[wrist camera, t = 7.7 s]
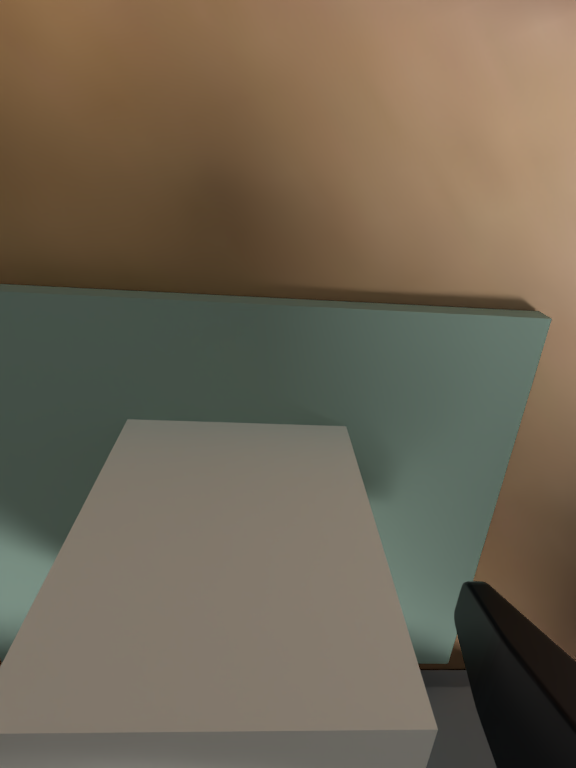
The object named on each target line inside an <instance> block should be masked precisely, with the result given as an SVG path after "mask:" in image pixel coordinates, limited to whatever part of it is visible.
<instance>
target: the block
mask: <svg viewBox="0 0 576 768" xmlns="http://www.w3.org/2000/svg"><path fill="white" fill-rule="evenodd" d="M437 731H438V728H437V725H436V721H435V718H434V715H433V711H432V708H431V705H430V701H429V698H428V695H427V692H426V688H425V685H424V682H423V678H422V675H421V672H420V668H419V665H418V662H417V659H416V655H415V652H414V649H413V645H412V642H411V639H410V635H409V632H408V629H407V625H406V622H405V619H404V616H403V612H402V609H401V606H400V602H399V599H398V596H397V592H396V589H395V586H394V582H393V579H392V576H391V573H390V569H389V566H388V563H387V559H386V556H385V553H384V549H383V546H382V543H381V540H380V536H379V533H378V530H377V526H376V523H375V520H374V516H373V513H372V510H371V506H370V503H369V500H368V497H367V493H366V490H365V487H364V483H363V480H362V477H361V473H360V470H359V467H358V464H357V460H356V457H355V454H354V450H353V447H352V444H351V440H350V437H349V434H348V430H347V427H346V426H324V425H293V424H261V423H230V422H199V421H168V420H136V419H127V421H126V423H125V425H124V427H123V429H122V431H121V433H120V435H119V437H118V439H117V441H116V443H115V445H114V446H113V448H112V450H111V452H110V454H109V456H108V458H107V460H106V462H105V464H104V466H103V468H102V470H101V472H100V474H99V476H98V478H97V479H96V481H95V483H94V485H93V487H92V489H91V491H90V493H89V495H88V497H87V499H86V501H85V503H84V505H83V507H82V509H81V511H80V513H79V514H78V516H77V518H76V520H75V522H74V524H73V526H72V528H71V530H70V532H69V534H68V536H67V538H66V540H65V542H64V544H63V546H62V548H61V549H60V551H59V553H58V555H57V557H56V559H55V561H54V563H53V565H52V567H51V569H50V571H49V573H48V575H47V577H46V579H45V581H44V583H43V584H42V586H41V588H40V590H39V592H38V594H37V596H36V598H35V600H34V602H33V604H32V606H31V608H30V610H29V612H28V614H27V616H26V618H25V619H24V621H23V623H22V625H21V627H20V629H19V631H18V633H17V635H16V637H15V639H14V641H13V643H12V645H11V647H10V649H9V651H8V653H7V654H6V656H5V658H4V660H3V662H2V664H1V666H0V768H426V766H427V763H428V760H429V757H430V753H431V750H432V747H433V744H434V741H435V737H436V734H437Z"/></svg>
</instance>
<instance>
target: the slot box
mask: <svg viewBox="0 0 576 768" xmlns="http://www.w3.org/2000/svg"><path fill="white" fill-rule="evenodd" d="M420 672H421V675H422V678H423V682H424V685H425V688H426V692H427V695H428V698H429V701H430V705H431V708H432V711H433V715H434V718H435V721H436V725H437V728H438V731H437V734H436V737H435V741H434V744H433V747H432V750H431V753H430V757H429V760H428V763H427V766H426V768H497V767H496V764H495V761H494V759H493V756H492V753H491V750H490V747H489V744H488V742H487V739H486V736H485V733H484V730H483V727H482V725H481V722H480V719H479V716H478V713H477V710H476V706H475V703H474V699H473V695H472V692H471V687H470V683H469V679H468V675H467V671H466V670H420Z"/></svg>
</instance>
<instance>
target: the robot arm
mask: <svg viewBox="0 0 576 768" xmlns="http://www.w3.org/2000/svg"><path fill="white" fill-rule="evenodd" d="M454 622H455V627H456V631H457V635H458V639H459V643H460V647H461V651H462V655H463V659H464V663H465V667H466V671H467V675H468V679H469V683H470V687H471V692H472V695H473V699H474V703H475V706H476V710H477V713H478V716H479V719H480V722H481V725H482V727H483V730H484V733H485V736H486V739H487V742H488V744H489V747H490V750H491V753H492V756H493V759H494V761H495V764H496V767H497V768H576V661H575V660H573V659H572V658H571V657H570V656H569V655H568V654H567V653H565V652H564V651H563V650H562V649H561V648H560V647H559V646H558V645H556V644H555V643H554V642H553V641H552V640H551V639H550V638H549V637H547V636H546V635H545V634H544V633H543V632H542V631H541V630H540V629H538V628H537V627H536V626H535V625H534V624H533V623H532V622H531V621H529V620H528V619H527V618H526V617H525V616H524V615H523V614H521V613H520V612H519V611H518V610H517V609H516V608H515V607H514V606H512V605H511V604H510V603H509V602H508V601H507V600H506V599H505V598H503V597H502V596H501V595H500V594H499V593H498V592H497V591H496V590H494V589H493V588H492V587H491V586H490V585H489V584H487V583H485V582H480V581H467V582H464V583H463V584H462V587H461V590H460V593H459V597H458V600H457V603H456V607H455V611H454Z"/></svg>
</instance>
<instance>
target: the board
mask: <svg viewBox="0 0 576 768" xmlns="http://www.w3.org/2000/svg"><path fill="white" fill-rule="evenodd" d="M551 320H552V319H551V318H550V317H548V316H546V315H544V314H543V313H541V312H539V311H524V310H505V309H485V308H465V307H445V306H426V305H406V304H386V303H366V302H347V301H327V300H307V299H287V298H268V297H248V296H228V295H208V294H189V293H169V292H149V291H129V290H110V289H90V288H70V287H50V286H31V285H11V284H0V659H1V662H3V660H4V658H5V656H6V654H7V653H8V651H9V649H10V647H11V645H12V643H13V641H14V639H15V637H16V635H17V633H18V631H19V629H20V627H21V625H22V623H23V621H24V619H25V618H26V616H27V614H28V612H29V610H30V608H31V606H32V604H33V602H34V600H35V598H36V596H37V594H38V592H39V590H40V588H41V586H42V584H43V583H44V581H45V579H46V577H47V575H48V573H49V571H50V569H51V567H52V565H53V563H54V561H55V559H56V557H57V555H58V553H59V551H60V549H61V548H62V546H63V544H64V542H65V540H66V538H67V536H68V534H69V532H70V530H71V528H72V526H73V524H74V522H75V520H76V518H77V516H78V514H79V513H80V511H81V509H82V507H83V505H84V503H85V501H86V499H87V497H88V495H89V493H90V491H91V489H92V487H93V485H94V483H95V481H96V479H97V478H98V476H99V474H100V472H101V470H102V468H103V466H104V464H105V462H106V460H107V458H108V456H109V454H110V452H111V450H112V448H113V446H114V445H115V443H116V441H117V439H118V437H119V435H120V433H121V431H122V429H123V427H124V425H125V423H126V421H127V419H136V420H168V421H199V422H230V423H261V424H293V425H324V426H346V427H347V430H348V434H349V437H350V440H351V444H352V447H353V450H354V454H355V457H356V460H357V464H358V467H359V470H360V473H361V477H362V480H363V483H364V487H365V490H366V493H367V497H368V500H369V503H370V506H371V510H372V513H373V516H374V520H375V523H376V526H377V530H378V533H379V536H380V540H381V543H382V546H383V549H384V553H385V556H386V559H387V563H388V566H389V569H390V573H391V576H392V579H393V582H394V586H395V589H396V592H397V596H398V599H399V602H400V606H401V609H402V612H403V616H404V619H405V622H406V625H407V629H408V632H409V635H410V639H411V642H412V645H413V649H414V652H415V655H416V659H417V662H418V664H448V662H449V659H450V655H451V652H452V649H453V645H454V642H455V639H456V635H457V631H456V627H455V622H454V611H455V607H456V603H457V600H458V597H459V593H460V590H461V587H462V584H463V583H464V582H467V581H473V579H474V576H475V572H476V569H477V566H478V562H479V559H480V556H481V552H482V549H483V546H484V542H485V539H486V536H487V532H488V529H489V526H490V522H491V519H492V516H493V512H494V509H495V506H496V502H497V499H498V496H499V492H500V489H501V486H502V483H503V479H504V476H505V473H506V469H507V466H508V463H509V459H510V456H511V453H512V449H513V446H514V443H515V439H516V436H517V433H518V429H519V426H520V423H521V419H522V416H523V413H524V409H525V406H526V403H527V399H528V396H529V393H530V389H531V386H532V383H533V380H534V376H535V373H536V370H537V366H538V363H539V360H540V356H541V353H542V350H543V346H544V343H545V340H546V336H547V333H548V330H549V326H550V323H551Z"/></svg>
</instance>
